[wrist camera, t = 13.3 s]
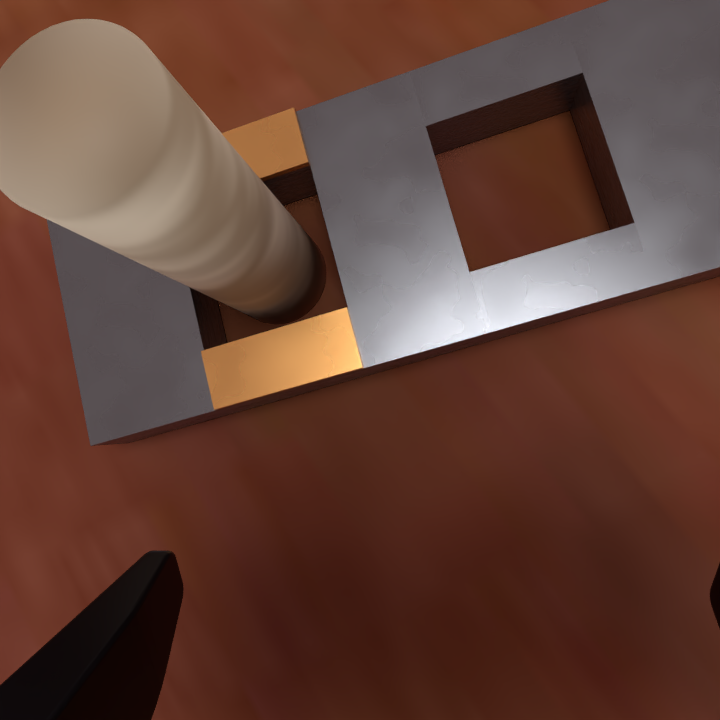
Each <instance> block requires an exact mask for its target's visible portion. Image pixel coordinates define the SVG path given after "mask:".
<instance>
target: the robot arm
mask: <svg viewBox="0 0 720 720" xmlns="http://www.w3.org/2000/svg"><path fill="white" fill-rule="evenodd" d="M182 598H183V582H182V578H181V574H180V571H179V567H178V563H177V560H176V557H175V554H174V553H173V552H172V551H149V552H148V553H146V554H145V555H143V556H142V557H141V558H140V559H139V560H138V561H137V562H136V563H135V564H133V565H132V566H131V567H130V568H129V569H128V570H127V571H126V572H125V573H124V574H122V575H121V576H120V577H119V578H118V579H117V580H116V581H115V582H114V583H113V584H111V585H110V586H109V587H108V588H107V589H106V590H105V591H104V592H103V593H101V594H100V595H99V596H98V597H97V598H96V599H95V600H94V601H93V602H92V603H90V604H89V605H88V606H87V607H86V608H85V609H84V610H83V611H82V612H81V613H79V614H78V615H77V616H76V617H75V618H74V619H73V620H72V621H71V622H69V623H68V624H67V625H66V626H65V627H64V628H63V629H62V630H61V631H60V632H58V633H57V634H56V635H55V636H54V637H53V638H52V639H51V640H50V641H49V642H47V643H46V644H45V645H44V646H43V647H42V648H41V649H40V650H39V651H37V652H36V653H35V654H34V655H33V656H32V657H31V658H30V659H29V660H28V661H26V662H25V663H24V664H23V665H22V666H21V667H20V668H19V669H18V670H17V671H15V672H14V673H13V674H12V675H11V676H10V677H9V678H8V679H7V680H5V681H4V682H3V683H2V684H1V685H0V720H151V719H152V716H153V713H154V710H155V707H156V704H157V701H158V698H159V695H160V691H161V688H162V684H163V680H164V677H165V673H166V668H167V664H168V659H169V655H170V651H171V646H172V642H173V638H174V633H175V629H176V625H177V620H178V616H179V612H180V607H181V603H182ZM710 601H711V605H712V608H713V611H714V614H715V617H716V620H717V623H718V625H719V628H720V563H719V566H718V569H717V572H716V575H715V578H714V580H713V583H712V586H711V590H710Z"/></svg>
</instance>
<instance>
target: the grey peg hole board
mask: <svg viewBox="0 0 720 720" xmlns="http://www.w3.org/2000/svg"><path fill="white" fill-rule="evenodd" d="M568 110H570V112H571V115H572V118H573V120H574V123H575V126H576V129H577V132H578V135H579V138H580V141H581V144H582V147H583V150H584V153H585V156H586V159H587V162H588V165H589V168H590V171H591V174H592V177H593V180H594V183H595V186H596V188H597V191H598V194H599V197H600V200H601V203H602V206H603V209H604V212H605V215H606V218H607V221H608V224H609V227H610V230H609V231H606V232H602V233H599V234H596V235H592V236H589V237H586V238H582V239H579V240H576V241H572V242H569V243H566V244H562V245H559V246H556V247H552V248H549V249H546V250H542V251H539V252H536V253H532V254H529V255H526V256H522V257H519V258H516V259H512V260H509V261H506V262H502V263H499V264H496V265H492V266H489V267H486V268H482V269H479V270H476V271H472V272H469V269H468V266H467V263H466V259H465V256H464V253H463V249H462V246H461V243H460V239H459V236H458V233H457V229H456V226H455V223H454V219H453V216H452V213H451V209H450V206H449V203H448V199H447V196H446V192H445V189H444V186H443V182H442V179H441V176H440V172H439V169H438V166H437V162H436V159H435V156H434V155H436V154H439V153H442V152H445V151H448V150H451V149H454V148H457V147H460V146H463V145H466V144H469V143H472V142H475V141H478V140H481V139H484V138H487V137H490V136H493V135H496V134H499V133H502V132H505V131H508V130H511V129H514V128H517V127H520V126H523V125H526V124H529V123H532V122H535V121H538V120H541V119H544V118H547V117H550V116H553V115H556V114H559V113H562V112H565V111H568ZM222 135H223V136H224V137H225V138H226V139H227V141H228V142H229V143H230V144H231V145H232V146H233V148H234V149H235V150H236V151H237V152H238V153H239V155H240V156H241V157H242V158H243V159H244V160H245V162H246V163H247V164H248V165H249V166H250V168H251V169H252V170H253V171H254V172H255V173H256V175H257V176H258V177H259V178H260V179H261V180H262V182H263V183H264V184H265V185H266V186H267V187H268V189H269V190H270V191H271V192H272V193H273V195H274V196H275V197H276V198H277V199H278V200H279V202H280V203H281V204H282V205H285V204H288V203H291V202H294V201H297V200H300V199H303V198H306V197H309V196H312V195H315V194H318V196H319V200H320V204H321V208H322V211H323V215H324V219H325V223H326V227H327V230H328V234H329V238H330V242H331V245H332V249H333V253H334V257H335V260H336V264H337V268H338V272H339V276H340V279H341V283H342V287H343V291H344V294H345V298H346V302H347V306H348V308H347V307H346V308H342V309H339V310H336V311H332V312H329V313H326V314H323V315H319V316H316V317H313V318H309V319H306V320H303V321H299V322H296V323H293V324H289V325H286V326H283V327H279V328H276V329H273V330H269V331H266V332H263V333H259V334H256V335H253V336H249V337H246V338H243V339H239V340H236V341H233V342H229V343H227V341H226V336H225V332H224V328H223V323H222V319H221V315H220V311H219V306H218V302H217V300H215V299H213V298H211V297H209V296H207V295H205V294H203V293H201V292H199V291H197V290H194V289H192V288H190V287H188V286H186V285H184V284H182V283H180V282H178V281H176V280H173V279H171V278H169V277H167V276H165V275H163V274H161V273H159V272H157V271H155V270H153V269H150V268H148V267H146V266H144V265H142V264H140V263H138V262H136V261H134V260H132V259H129V258H127V257H125V256H123V255H121V254H119V253H117V252H115V251H113V250H111V249H109V248H106V247H104V246H102V245H100V244H98V243H96V242H94V241H92V240H90V239H88V238H86V237H83V236H81V235H79V234H77V233H75V232H73V231H71V230H69V229H67V228H65V227H62V226H60V225H58V224H56V223H54V222H52V221H50V220H48V219H47V223H48V228H49V233H50V239H51V244H52V249H53V254H54V259H55V264H56V270H57V275H58V280H59V285H60V290H61V295H62V300H63V306H64V311H65V316H66V321H67V326H68V331H69V337H70V342H71V347H72V352H73V357H74V362H75V368H76V373H77V378H78V383H79V388H80V393H81V399H82V404H83V409H84V414H85V419H86V424H87V430H88V435H89V440H90V445H91V446H95V445H109V444H122V443H130V442H134V441H137V440H141V439H144V438H148V437H151V436H155V435H158V434H162V433H165V432H169V431H173V430H176V429H180V428H183V427H187V426H190V425H194V424H197V423H201V422H204V421H208V420H212V419H215V418H219V417H222V416H226V415H229V414H233V413H236V412H240V411H243V410H247V409H251V408H254V407H258V406H261V405H265V404H268V403H272V402H275V401H279V400H282V399H286V398H290V397H293V396H297V395H300V394H304V393H307V392H311V391H314V390H318V389H321V388H325V387H329V386H332V385H336V384H339V383H343V382H346V381H350V380H353V379H357V378H360V377H364V376H368V375H371V374H375V373H378V372H382V371H385V370H389V369H392V368H396V367H399V366H403V365H407V364H410V363H414V362H417V361H421V360H424V359H428V358H431V357H435V356H438V355H442V354H446V353H449V352H453V351H456V350H460V349H463V348H467V347H470V346H474V345H477V344H481V343H484V342H488V341H492V340H495V339H499V338H502V337H506V336H509V335H513V334H516V333H520V332H523V331H527V330H531V329H534V328H538V327H541V326H545V325H548V324H552V323H555V322H559V321H562V320H566V319H570V318H573V317H577V316H580V315H584V314H587V313H591V312H594V311H598V310H601V309H605V308H609V307H612V306H616V305H619V304H623V303H626V302H630V301H633V300H637V299H640V298H644V297H648V296H651V295H655V294H658V293H662V292H665V291H669V290H672V289H676V288H679V287H683V286H687V285H690V284H694V283H697V282H701V281H704V280H708V279H711V278H715V277H718V276H720V0H609V1H607V2H604V3H601V4H598V5H595V6H592V7H590V8H587V9H584V10H581V11H578V12H576V13H573V14H570V15H567V16H564V17H561V18H559V19H556V20H553V21H550V22H547V23H545V24H542V25H539V26H536V27H533V28H531V29H528V30H525V31H522V32H519V33H516V34H514V35H511V36H508V37H505V38H502V39H500V40H497V41H494V42H491V43H488V44H485V45H483V46H480V47H477V48H474V49H471V50H469V51H466V52H463V53H460V54H457V55H454V56H452V57H449V58H446V59H443V60H440V61H438V62H435V63H432V64H429V65H426V66H424V67H421V68H418V69H415V70H412V71H409V72H407V73H404V74H401V75H398V76H395V77H393V78H390V79H387V80H384V81H381V82H378V83H376V84H373V85H370V86H367V87H364V88H362V89H359V90H356V91H353V92H350V93H347V94H345V95H342V96H339V97H336V98H333V99H331V100H328V101H325V102H322V103H319V104H317V105H314V106H311V107H308V108H305V109H302V110H300V111H297V112H296V111H295V109H294V108H291V109H288V110H286V111H283V112H280V113H277V114H274V115H272V116H269V117H266V118H263V119H260V120H258V121H255V122H252V123H249V124H246V125H244V126H241V127H238V128H235V129H232V130H230V131H227V132H224V133H222Z"/></svg>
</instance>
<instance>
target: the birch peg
mask: <svg viewBox="0 0 720 720" xmlns="http://www.w3.org/2000/svg"><path fill="white" fill-rule="evenodd" d="M0 189H1V191H2V192H3V193H4V194H5V195H6V196H7V197H8V198H10V199H11V200H12V201H13V202H15V203H16V204H18V205H19V206H21V207H23V208H25V209H27V210H29V211H31V212H33V213H35V214H37V215H39V216H42V217H44V218H46V219H48V220H50V221H52V222H54V223H56V224H58V225H60V226H62V227H65V228H67V229H69V230H71V231H73V232H75V233H77V234H79V235H81V236H83V237H86V238H88V239H90V240H92V241H94V242H96V243H98V244H100V245H102V246H104V247H106V248H109V249H111V250H113V251H115V252H117V253H119V254H121V255H123V256H125V257H127V258H129V259H132V260H134V261H136V262H138V263H140V264H142V265H144V266H146V267H148V268H150V269H153V270H155V271H157V272H159V273H161V274H163V275H165V276H167V277H169V278H171V279H173V280H176V281H178V282H180V283H182V284H184V285H186V286H188V287H190V288H192V289H194V290H197V291H199V292H201V293H203V294H205V295H207V296H209V297H211V298H213V299H215V300H217V301H220V302H222V303H224V304H226V305H228V306H230V307H232V308H234V309H236V310H238V311H241V312H243V313H245V314H247V315H249V316H251V317H253V318H255V319H257V320H259V321H262V322H265V323H270V324H284V323H288V322H292V321H294V320H297V319H299V318H301V317H302V316H304V315H305V314H307V313H308V312H309V311H310V310H311V309H312V308H313V307H314V306H315V304H316V303H317V302H318V300H319V299H320V296H321V294H322V292H323V289H324V286H325V281H326V266H325V261H324V258H323V255H322V253H321V251H320V249H319V248H318V247H317V245H316V244H315V243H314V242H313V240H312V239H311V238H310V237H309V236H308V234H307V233H306V232H305V231H304V230H303V229H302V227H301V226H300V225H299V224H298V223H297V222H296V220H295V219H294V218H293V217H292V216H291V215H290V213H289V212H288V211H287V210H286V209H285V207H284V206H283V205H282V204H281V203H280V202H279V200H278V199H277V198H276V197H275V196H274V195H273V193H272V192H271V191H270V190H269V189H268V187H267V186H266V185H265V184H264V183H263V182H262V180H261V179H260V178H259V177H258V176H257V175H256V173H255V172H254V171H253V170H252V169H251V168H250V166H249V165H248V164H247V163H246V162H245V160H244V159H243V158H242V157H241V156H240V155H239V153H238V152H237V151H236V150H235V149H234V148H233V146H232V145H231V144H230V143H229V142H228V141H227V139H226V138H225V137H224V136H223V135H222V133H221V132H220V131H219V130H218V129H217V128H216V126H215V125H214V124H213V123H212V122H211V121H210V119H209V118H208V117H207V116H206V115H205V113H204V112H203V111H202V110H201V109H200V108H199V106H198V105H197V104H196V103H195V102H194V101H193V99H192V98H191V97H190V96H189V95H188V94H187V92H186V91H185V90H184V89H183V88H182V86H181V85H180V84H179V83H178V82H177V81H176V79H175V78H174V77H173V76H172V75H171V74H170V72H169V71H168V70H167V69H166V68H165V67H164V65H163V64H162V63H161V62H160V61H159V59H158V58H157V57H156V56H155V55H154V54H153V52H152V51H151V50H150V49H149V48H148V47H147V46H146V44H145V43H144V42H143V41H142V40H141V39H140V38H138V37H137V36H136V35H135V34H133V33H132V32H131V31H129V30H127V29H125V28H124V27H122V26H119V25H117V24H114V23H112V22H108V21H103V20H96V19H77V20H71V21H66V22H63V23H60V24H57V25H53V26H51V27H49V28H47V29H45V30H43V31H41V32H39V33H38V34H36V35H34V36H33V37H31V38H30V39H28V40H27V41H26V42H25V43H23V44H22V45H21V46H20V47H19V48H18V49H17V50H16V51H15V52H14V53H13V54H12V55H11V56H10V57H9V58H8V60H7V61H6V62H5V63H4V65H3V66H2V68H1V69H0Z"/></svg>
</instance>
